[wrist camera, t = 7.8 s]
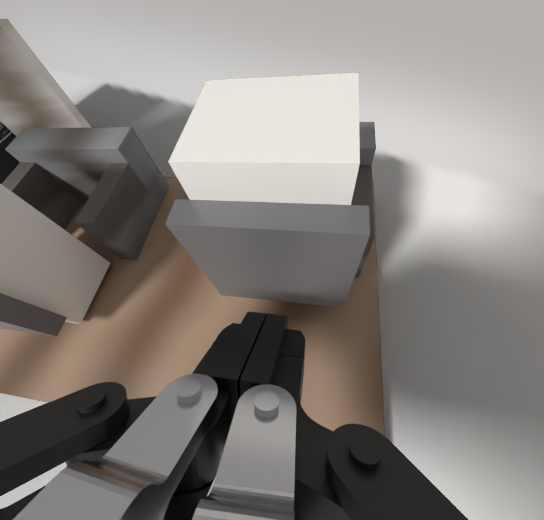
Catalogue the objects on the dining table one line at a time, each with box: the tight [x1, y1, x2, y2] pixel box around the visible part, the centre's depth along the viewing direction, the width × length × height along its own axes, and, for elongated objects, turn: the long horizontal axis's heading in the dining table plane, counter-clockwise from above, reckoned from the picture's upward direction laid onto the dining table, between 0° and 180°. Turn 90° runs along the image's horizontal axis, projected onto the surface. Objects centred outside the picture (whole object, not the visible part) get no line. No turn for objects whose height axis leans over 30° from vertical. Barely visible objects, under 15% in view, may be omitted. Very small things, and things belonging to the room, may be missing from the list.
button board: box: [0, 19, 385, 436], centre depth 13 cm, size 25×16×11 cm, turn 82°
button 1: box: [165, 73, 370, 307], centre depth 11 cm, size 6×5×9 cm
